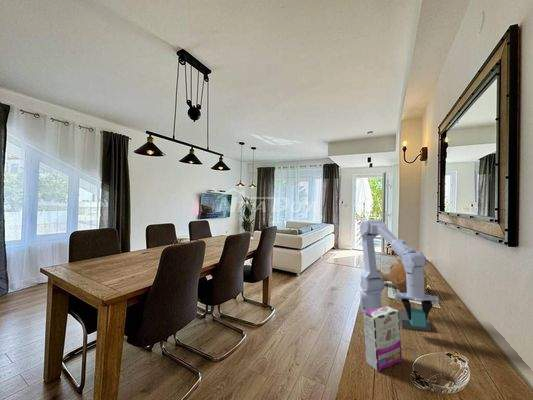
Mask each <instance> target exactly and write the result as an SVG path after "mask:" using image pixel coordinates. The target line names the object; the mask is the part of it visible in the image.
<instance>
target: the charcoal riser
mask: <svg viewBox="0 0 533 400" xmlns="http://www.w3.org/2000/svg"><path fill="white" fill-rule="evenodd" d="M396 310H398V311H399V325H400V327H401V329H405V330H414V331H415V330H416V331H423V332H424V331H425V332H431V322H430V321H429V319H428V318H427V322H426V327H420V326H412V324H411V323H410V321H409V319H408V316H407V312H406V309H396Z"/></svg>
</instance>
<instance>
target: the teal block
mask: <svg viewBox="0 0 533 400" xmlns="http://www.w3.org/2000/svg"><path fill="white" fill-rule="evenodd" d="M409 321H410V323H411V324H412V326H420V327H426V317H425V312H424V311H423V310H422V307H411V320H409Z"/></svg>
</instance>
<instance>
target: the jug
mask: <svg viewBox="0 0 533 400" xmlns="http://www.w3.org/2000/svg"><path fill="white" fill-rule="evenodd" d="M389 269H390V272H389V273H384V272H382V271H381V270H379V269H377V272H378V273H379V274H381V275H382V279H383V281H384V282H390V283H391V284H392V285H393V286H394V287H395V288H396V289H397V290H399V291H401V293H407V283H406V271H405V270H404V265H403V263H402V261H400V262H398V263H396V264H394V266H390V267H389ZM423 276H424V293H425V292H426V291H427V286H428V276H427V273H426V271H425V269H424V268H423Z"/></svg>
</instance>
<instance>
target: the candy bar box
mask: <svg viewBox="0 0 533 400" xmlns="http://www.w3.org/2000/svg"><path fill="white" fill-rule="evenodd" d="M398 310H399V309H397V310H396V309H395V308H393V307H392V306H391V307H390V306H389V305H384V306H382V307H381V308H377V309H374V310H370V311H367V312H362V316H363V331H364V332H363V333H364V344H365V345H364V347H365V363H366V364H367V365H368V366H370V367H371V369H374V370H375V371H376V372H380V371H383V370H386V369H388V368H390V367H392V366H394V365H396V364H397V365H398V364H400V363H401V362H403V358H402V357H403V356H402V342H401V328H400V327H401V325H400V323H399V311H398Z"/></svg>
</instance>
